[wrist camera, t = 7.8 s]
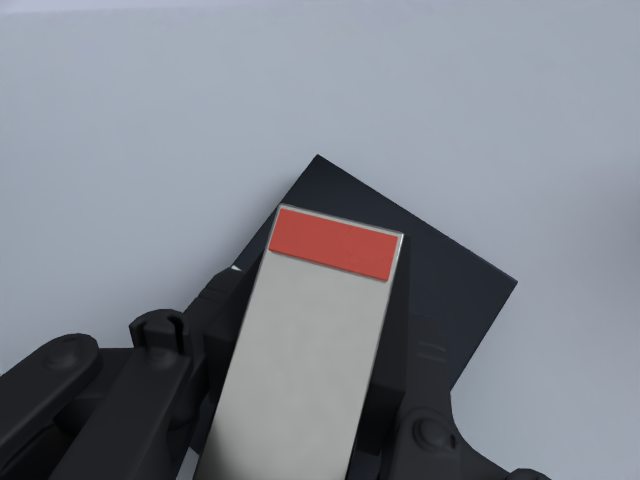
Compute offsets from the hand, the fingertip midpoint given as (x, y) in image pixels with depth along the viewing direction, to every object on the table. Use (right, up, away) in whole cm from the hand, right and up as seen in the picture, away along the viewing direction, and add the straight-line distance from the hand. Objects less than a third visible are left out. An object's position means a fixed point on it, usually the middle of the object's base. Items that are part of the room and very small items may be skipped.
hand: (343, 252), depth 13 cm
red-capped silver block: (-1, -4, +2) cm, 4 cm away
